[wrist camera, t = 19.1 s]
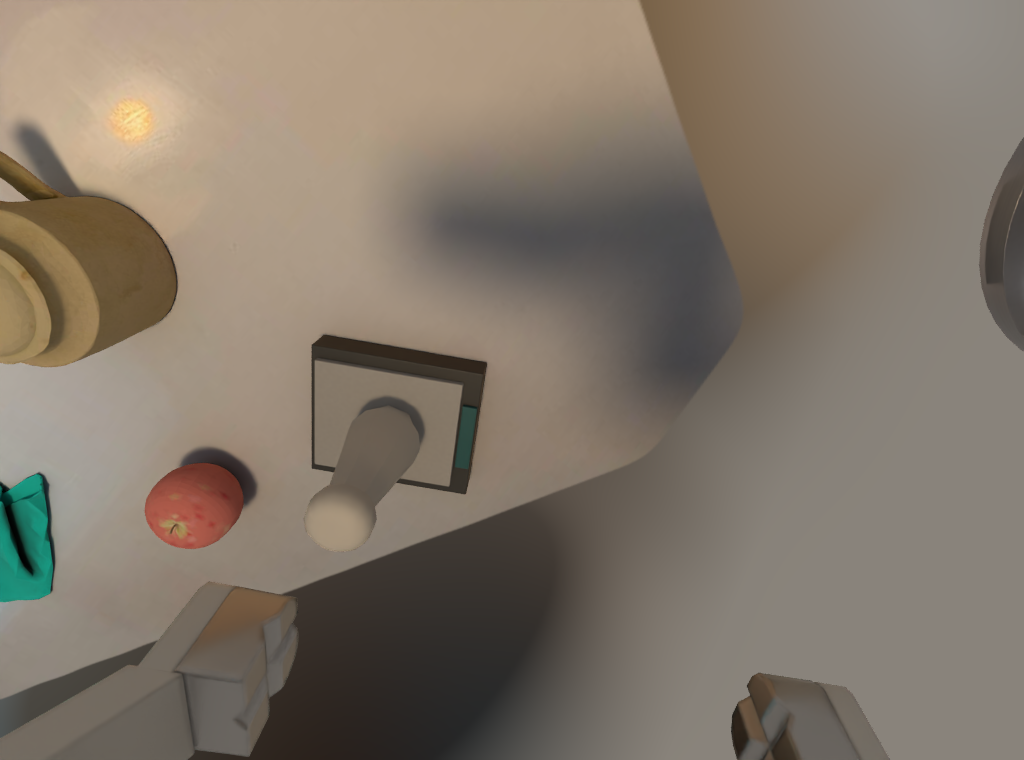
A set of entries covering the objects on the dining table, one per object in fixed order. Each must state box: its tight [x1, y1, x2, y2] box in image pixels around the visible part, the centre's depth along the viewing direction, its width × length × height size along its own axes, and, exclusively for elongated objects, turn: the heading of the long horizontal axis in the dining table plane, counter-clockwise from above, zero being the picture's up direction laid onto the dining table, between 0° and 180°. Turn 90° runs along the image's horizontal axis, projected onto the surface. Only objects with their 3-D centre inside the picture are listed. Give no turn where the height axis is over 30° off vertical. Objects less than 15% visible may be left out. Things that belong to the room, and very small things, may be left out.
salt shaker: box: [304, 405, 420, 552], centre depth 38 cm, size 6×6×13 cm
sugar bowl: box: [0, 151, 176, 367], centre depth 35 cm, size 15×11×15 cm
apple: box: [145, 463, 243, 549], centre depth 47 cm, size 7×7×8 cm
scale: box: [312, 335, 487, 494], centre depth 45 cm, size 14×12×3 cm
